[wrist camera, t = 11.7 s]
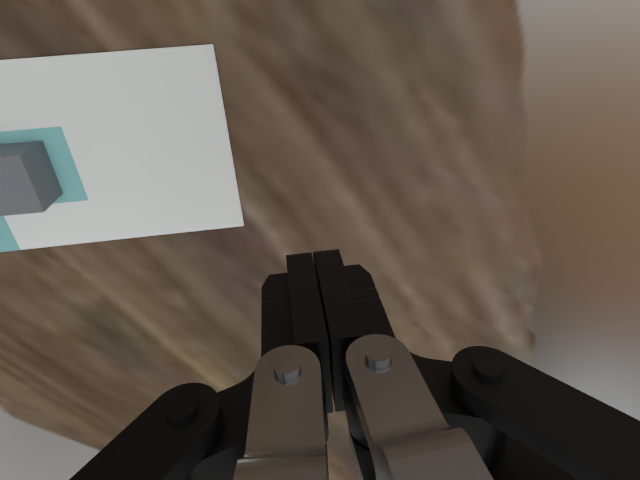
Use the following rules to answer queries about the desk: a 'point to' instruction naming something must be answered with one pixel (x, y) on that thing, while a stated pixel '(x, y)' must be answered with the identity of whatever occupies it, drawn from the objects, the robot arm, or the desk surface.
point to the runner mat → (127, 142)
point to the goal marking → (61, 162)
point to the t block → (26, 179)
